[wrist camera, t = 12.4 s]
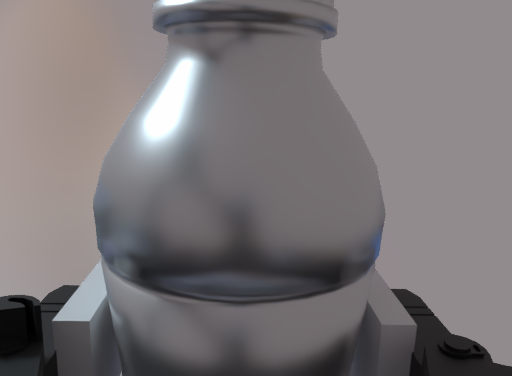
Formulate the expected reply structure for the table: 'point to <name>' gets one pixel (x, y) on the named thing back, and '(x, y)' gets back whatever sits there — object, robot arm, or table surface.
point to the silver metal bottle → (239, 201)
